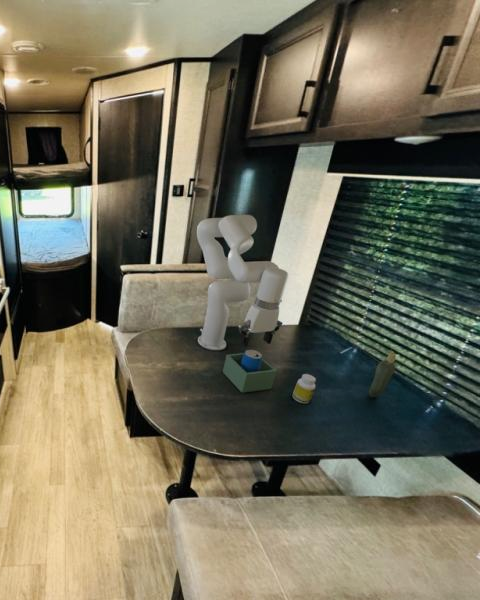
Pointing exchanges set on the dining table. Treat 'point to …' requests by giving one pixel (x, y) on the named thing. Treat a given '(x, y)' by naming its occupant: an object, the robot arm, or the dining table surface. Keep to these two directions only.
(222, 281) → the robot arm
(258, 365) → the beverage can
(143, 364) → the dining table surface
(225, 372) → the bin
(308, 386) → the supplement bottle
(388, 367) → the olive brown bottle
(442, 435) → the dining table surface
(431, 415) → the dining table surface
